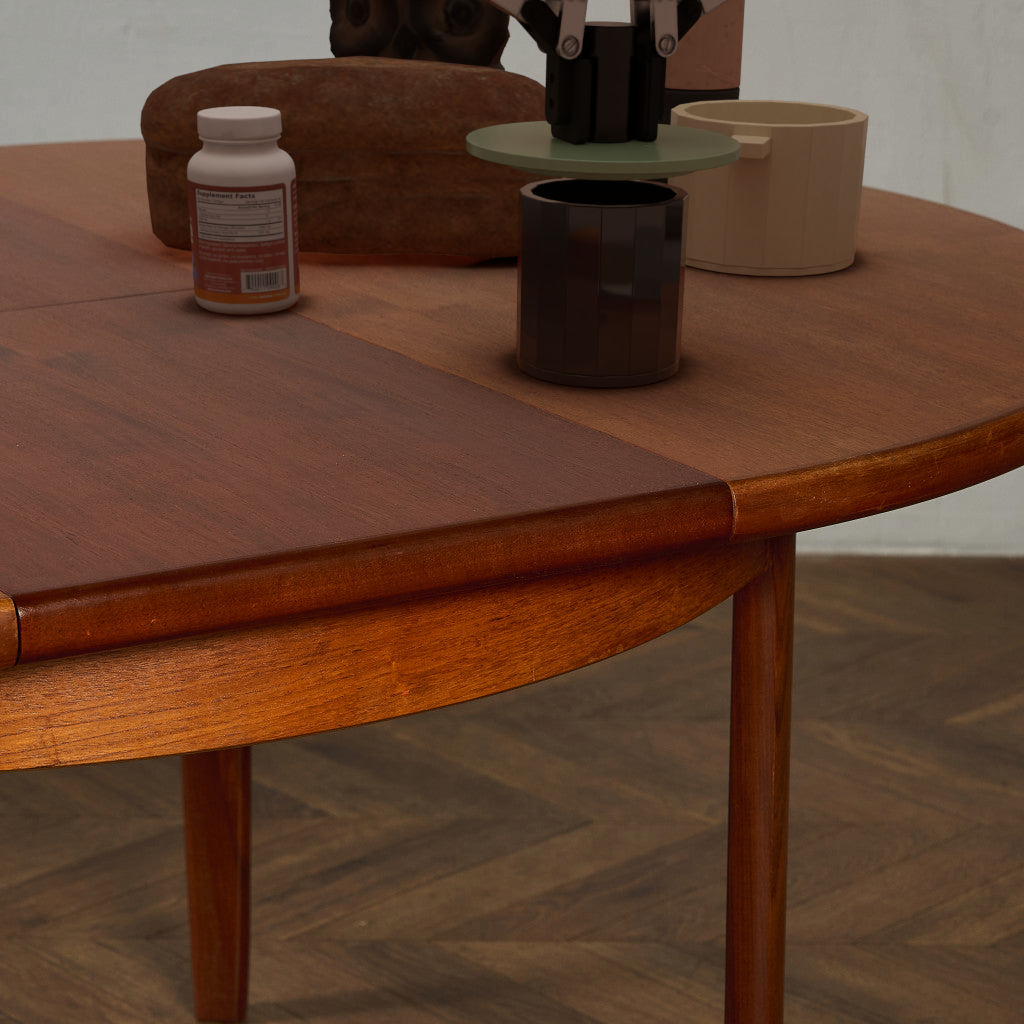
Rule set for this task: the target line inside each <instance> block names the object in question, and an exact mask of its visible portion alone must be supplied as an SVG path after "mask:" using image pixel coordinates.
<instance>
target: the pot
mask: <svg viewBox="0 0 1024 1024" xmlns="http://www.w3.org/2000/svg"><path fill="white" fill-rule="evenodd" d="M671 125H674V126H682V127H689V128H696V129H702V130H707V131H712V132H716V133H720V134H723V135H726V136H729V137H732V138H734V139H736V140H737V141H738V142H739V143H740V144H741V151H740V158H739V159H738V160H737V161H735V162H734V163H731V164H728V165H726V166H722V167H717V168H712V169H707V170H699V171H696V172H693V173H690V174H687V175H683V176H677V177H671V178H668V184H669V185H672V186H676V187H679V188H682V189H683V190H685V191H686V192H687V193H688V194H689V207H688V225H687V244H686V262H685V266H688V267H691V268H696V269H701V270H706V271H711V272H717V273H724V274H732V275H739V276H742V275H743V276H754V277H755V276H757V277H801V276H814V275H822V274H827V273H828V274H829V273H833V272H837V271H840V270H845V269H846V268H848V267H850V266H851V265H853V263H854V261H855V253H856V252H857V246H858V237H859V235H858V234H859V226H860V216H861V215H860V214H861V205H862V204H861V203H862V193H863V192H862V191H863V181H864V171H865V159H866V148H867V139H868V127H869V114H866V113H864V112H862V111H861V110H858V109H854V108H850V107H845V106H840V105H835V104H825V103H818V102H817V103H816V102H806V101H797V100H795V101H793V100H774V99H739V100H718V101H700V102H693V103H687V104H681V105H678V106H677V107H675V108H673V109H671Z"/></svg>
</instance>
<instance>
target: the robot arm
mask: <svg viewBox="0 0 1024 1024" xmlns="http://www.w3.org/2000/svg"><path fill="white" fill-rule="evenodd" d="M484 1H486V2H488V3H489V4H491V5H493V6H494V7H496V8H498V9H499V10H501V11H503V12H504V13H506V14H508V15H510V17H512V18H513V19H515V20H516V21H517V22H518V24H519V25H520V26H521V27H522V28H523V30H524V31H525V32H527V34H528V35H529V36H530V37H531V39H533V41H534V42H535V43H536V46H537V49H538V50H539V52H541V53H543V54H545V56H546V57H545V86H544V87H545V117H546V121H547V122H548V123H549V124H550V125H551V134H552V136H553V137H554V138H557V139H560V140H563V141H565V142H568V143H571V144H585V142H586V141H588V140H589V133H590V106H591V79H592V65H591V62H589V60H588V59H584V58H583V46H582V44H583V36H584V27H585V22H586V17H587V9H588V3H589V0H484ZM727 1H728V0H629V15H630V23H634V24H637V25H638V46H637V68H636V90H635V112H634V134H633V138H636V139H639V140H642V141H655V140H656V139H657V134H658V121H660V120H661V119H662V118H663V114H664V100H665V80H666V61H667V57H670V56H672V55H673V54H674V53H675V52H676V50H677V48H678V42H679V41H680V40H681V39H682V38H683V37H684V35H685V34H686V33H687V32H688V31H689V30H690V29H691V28H692V27H693V25H694V24H695V23H696V22H697V21H698V20H699V18H700V17H701V16H702V15H704V14H707V13H709V12H711V11H712V10H714V9H715V8H717V7H719V6H720V5H722V4H723V3H725V2H727Z"/></svg>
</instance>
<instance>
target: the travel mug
mask: <svg viewBox="0 0 1024 1024" xmlns="http://www.w3.org/2000/svg"><path fill="white" fill-rule="evenodd" d="M745 5H746V0H728V1H727V2H725V3H723V4H722V5H720V6H719V7H717V8H715V9H714V10H712V11H711V12H709V13H707V14H704V15H702V16H701V17H700V18H699V20H698V21H697V22H696V23H695V24H694V25H693V27H692V28H691V29H690V30H689V31H688V32H687V33H686V34H685V35H684V37H683V38H682V39H681V40H680V41H679V42H678V48H677V50H676V52H675V53H674V54H673V55H672V56H670V57H667V61H666V80H665V100H664V114H663V118H662V119H661V120H660V121H658V124H665V125H671V109H673V108H675V107H677V106H678V105H681V104H687V103H693V102H700V101H718V100H740V93H741V92H740V91H741V87H740V86H741V79H742V77H741V76H742V60H743V43H744V42H743V41H744V25H745ZM646 181H653V182H660V183H665V184H668V178H662V179H649V180H646Z"/></svg>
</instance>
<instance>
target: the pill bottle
mask: <svg viewBox="0 0 1024 1024" xmlns="http://www.w3.org/2000/svg"><path fill="white" fill-rule="evenodd" d="M197 126H198V134H199V139H200V140H202V141H203V148H202V150H200V151H198V152H197V153H196V154H194V155H193V157H192V158H191V159H190V161H189V163H188V167H187V180H188V198H189V214H190V230H191V247H192V251H191V261H192V262H191V263H192V275H193V276H192V279H193V292H194V299H195V302H196V303H197V305H199V306H200V307H201V308H203V309H205V310H207V311H209V312H213V313H218V314H225V315H261V314H262V315H263V314H270V313H276V312H280V311H283V310H286V309H288V308H290V307H292V306H294V305H295V304H296V303H297V302H298V301H299V299H300V296H301V295H300V294H301V277H300V276H301V275H300V252H299V249H298V222H297V194H296V173H295V165H294V162H293V160H292V158H291V157H290V156H289V155H288V154H287V153H286V152H285V151H283V150H281V149H279V148H278V145H277V140H278V139H279V138H280V137H281V135H280V133H281V132H282V126H281V113H280V111H279V110H276V109H272V108H266V107H254V106H235V107H218V108H210V109H205V110H201V111H199V112H198V114H197Z"/></svg>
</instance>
